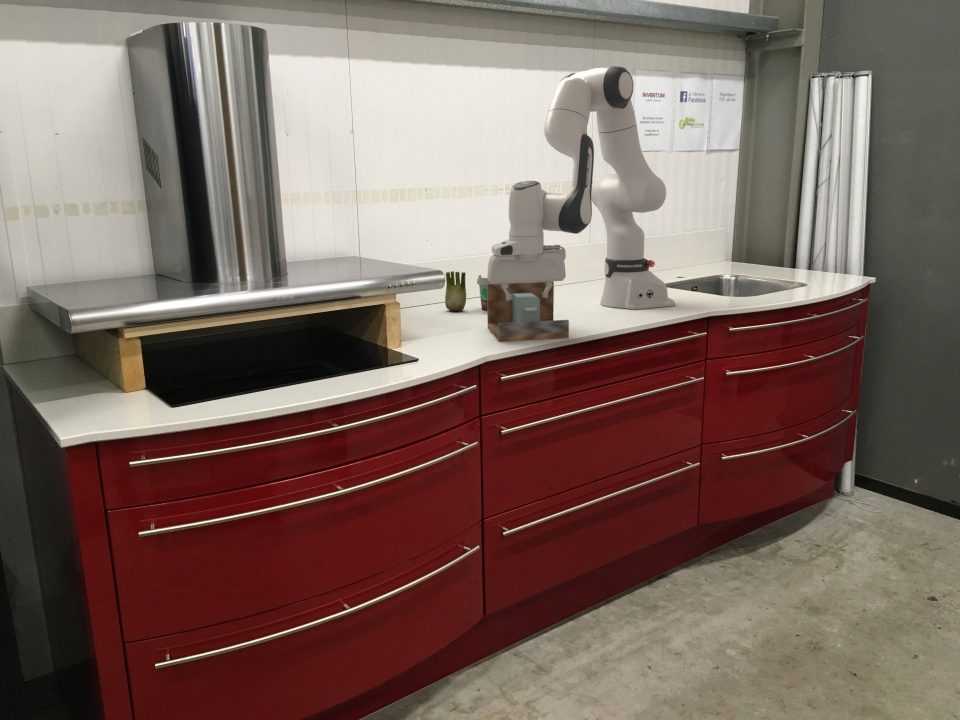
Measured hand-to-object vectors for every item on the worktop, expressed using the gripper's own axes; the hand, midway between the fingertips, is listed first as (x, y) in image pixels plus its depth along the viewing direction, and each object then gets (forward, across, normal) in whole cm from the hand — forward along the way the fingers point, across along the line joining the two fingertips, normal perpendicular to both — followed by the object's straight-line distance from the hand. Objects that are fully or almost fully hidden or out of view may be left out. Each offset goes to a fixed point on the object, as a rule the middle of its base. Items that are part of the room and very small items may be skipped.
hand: (526, 299), depth 207 cm
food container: (+9, +3, -30) cm, 32 cm away
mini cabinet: (+7, 0, 0) cm, 7 cm away
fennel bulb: (+9, +14, -32) cm, 37 cm away
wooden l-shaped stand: (+8, 0, +2) cm, 9 cm away
